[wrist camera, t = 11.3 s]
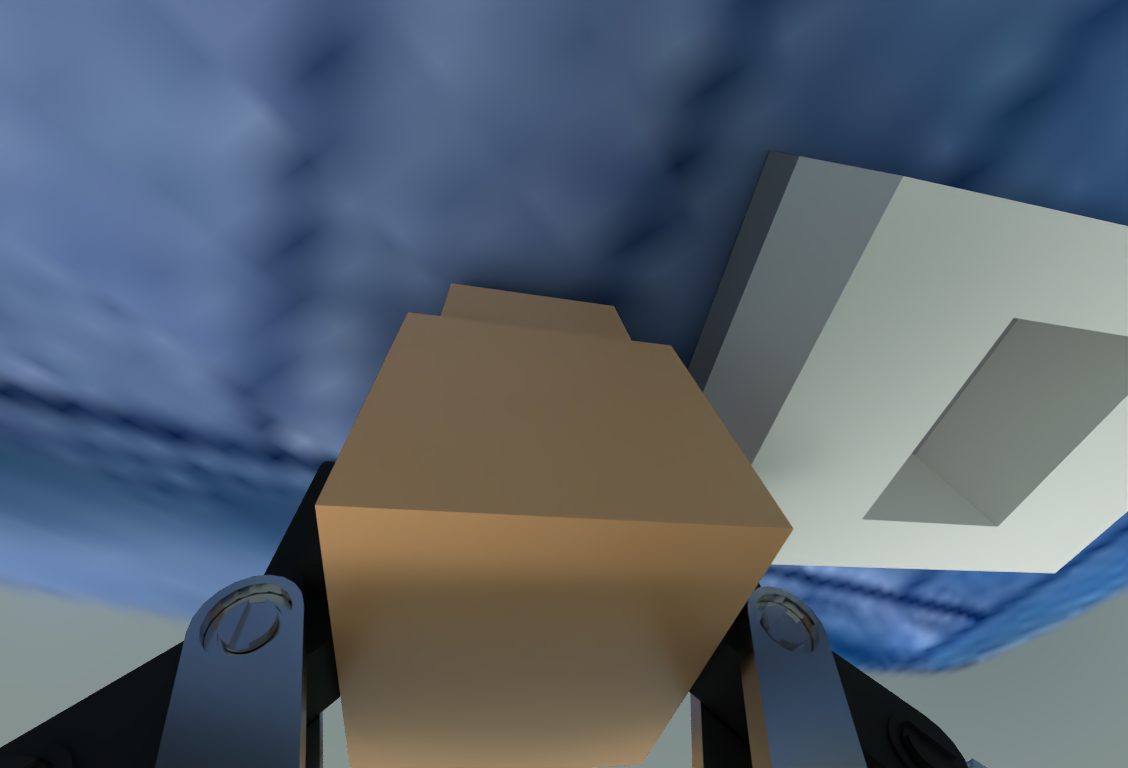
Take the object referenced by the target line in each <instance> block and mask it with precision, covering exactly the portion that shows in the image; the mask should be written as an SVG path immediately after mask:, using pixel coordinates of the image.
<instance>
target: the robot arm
mask: <svg viewBox="0 0 1128 768" xmlns="http://www.w3.org/2000/svg"><path fill="white" fill-rule="evenodd" d="M334 464H335V462H329V461H325V462H324V463H322V465H321V466H320V468H319V469H318V471H317V473H316V475H315V477H314V479H313V481H312V483H311V485H310V487H309V489H308V491H307V492H306V494H305V496H304V498H303V500H302V502H301V504H300V506H299V508H298V510H297V512H296V514H295V516H294V518H293V520H292V522H291V524H290V525H289V527H288V529H287V531H286V533H285V535H284V537H283V539H282V541H281V543H280V545H279V547H278V549H277V551H276V553H275V555H274V557H273V558H272V560H271V562H270V564H269V566H268V568H267V570H266V572H265V574H264V575H262V576H253V577H250V578H246V579H243V580H240V581H237V582H235V583H233V584H231V585H229V586H227V587H225V588H224V589H222V590H220V591H218V592H217V593H216V594H215V595H213V596H212V597H211V598H210V599H209V600H207V601H206V602H205V603H204V604H203V605H202V606H201V608H200V609H199V610H198V611H197V613H196V614H195V615H194V616H193V618H192V620H191V622H190V625H189V627H188V629H187V632H186V635H185V640H184V641H183V642H181V643H179V644H178V645H176V646H174V647H172V648H171V649H169V650H167V651H166V652H164V653H162V654H160V655H159V656H157V657H155V658H154V659H152V660H150V661H148V662H147V663H145V664H143V665H142V666H140V667H138V668H136V669H135V670H133V671H131V672H129V673H128V674H126V675H124V676H123V677H121V678H119V679H117V680H116V681H114V682H112V683H111V684H109V685H107V686H105V687H104V688H102V689H100V690H99V691H97V692H95V693H93V694H92V695H90V696H88V697H87V698H85V699H83V700H81V701H80V702H78V703H76V704H75V705H73V706H71V707H70V708H68V709H66V710H64V711H63V712H61V713H59V714H57V715H56V716H54V717H52V718H51V719H49V720H47V721H46V722H44V723H42V724H40V725H39V726H37V727H35V728H33V729H32V730H30V731H28V732H26V733H25V734H23V735H21V736H20V737H18V738H16V739H15V740H13V741H11V742H9V743H8V744H6V745H4V746H2V747H1V748H0V768H323V710H324V709H326V708H327V707H328V706H329V705H330V704H332V703H333V702H334V701H335V700H337V699H338V698H339V697H340V688H339V681H338V673H337V666H336V658H335V651H334V644H333V636H332V629H331V621H330V614H329V606H328V599H327V591H326V584H325V577H324V569H323V562H322V554H321V547H320V539H319V532H318V524H317V517H316V510H315V504H316V502H317V500H318V498H319V496H320V493H321V491H322V489H323V487H324V485H325V483H326V481H327V479H328V477H329V475H330V473H331V471H332V469H333V467H334ZM689 692H690V693H691V696H690V697H691V730H692V731H691V733H692V767H693V768H986V767H985V766H983V765H982V764H980V763H979V762H977V761H976V760H974V759H971V760H970V761H968V762H966V761H965V759H964V758H963V756H962V754H961V753H960V752H959V750H958V749H957V747H956V746H955V744H954V743H953V742H952V741H951V739H950V738H949V737H948V736H947V735H946V734H945V733H944V732H943V731H942V730H941V729H940V728H939V727H938V726H937V725H936V724H935V723H933V722H932V721H931V720H930V719H929V718H927V717H926V716H925V715H923V714H922V713H920V712H919V711H918V710H916V709H915V708H913V707H912V706H910V705H909V704H908V703H906V702H905V701H903V700H902V699H900V698H899V697H898V696H896V695H895V694H893V693H892V692H890V691H889V690H888V689H886V688H884V687H883V686H882V685H880V684H879V683H877V682H876V681H875V680H873V679H872V678H870V677H869V676H867V675H866V674H865V673H863V672H862V671H860V670H859V669H857V668H856V667H855V666H853V665H852V664H850V663H849V662H847V661H846V660H844V659H843V658H842V657H840V656H839V655H837V654H836V653H834V652H833V651H832V650H831V647H830V644H829V640H828V637H827V634H826V632H825V630H824V627H823V625H822V623H821V621H820V620H819V619H818V617H817V616H816V614H815V613H814V612H813V611H812V610H811V609H810V608H809V607H808V606H807V605H806V604H805V603H804V602H803V601H802V600H800V599H799V598H797V597H796V596H794V595H793V594H791V593H789V592H787V591H785V590H782V589H780V588H776V587H770V586H766V587H761V586H760V584H759V583H758V585H757V586H756V588H755V590H754V591H753V593H752V594H751V596H750V597H749V599H748V600H747V602H746V603H745V605H744V607H743V608H742V610H741V611H740V613H739V614H738V616H737V617H736V619H735V620H734V622H733V624H732V625H731V627H730V628H729V630H728V631H727V633H726V634H725V636H724V637H723V639H722V641H721V642H720V644H719V645H718V647H717V648H716V650H715V651H714V653H713V655H712V656H711V658H710V659H709V661H708V662H707V664H706V665H705V667H704V668H703V670H702V672H701V673H700V675H699V676H698V678H697V679H696V681H695V682H694V684H693V685H692V687H691V689H690V690H689Z"/></svg>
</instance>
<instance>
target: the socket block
mask: <svg viewBox="0 0 1128 768" xmlns="http://www.w3.org/2000/svg"><path fill="white" fill-rule="evenodd" d="M688 371H689V373H690V374H691V376H692V377H693V379H694V380H695V382H696V383H697V385H698V386H699V388H700V389H701V391H702V392H703V394H704V395H705V397H706V398H707V400H708V401H709V403H710V404H711V406H712V407H713V409H714V410H715V412H716V413H717V415H718V416H719V418H720V419H721V421H722V422H723V424H724V425H725V427H726V428H727V430H728V431H729V433H730V434H731V436H732V437H733V439H734V440H735V442H736V443H737V445H738V446H739V448H740V449H741V451H742V452H743V454H744V455H745V457H746V458H747V460H748V461H749V463H750V464H751V466H752V467H753V469H754V470H755V472H756V473H757V475H758V476H759V478H760V479H761V481H762V482H763V484H764V485H765V487H766V488H767V490H768V491H769V493H770V494H771V496H772V497H773V499H774V500H775V502H776V503H777V505H778V506H779V508H780V509H781V511H782V512H783V514H784V515H785V517H786V518H787V520H788V521H789V523H790V524H791V526H792V527H793V531H792V532H791V534H790V535H789V537H788V538H787V540H786V542H785V543H784V545H783V546H782V548H781V549H780V551H779V552H778V554H777V555H776V557H775V559H774V560H773V562H772V563H771V564H778V565H809V566H841V567H873V568H905V569H937V570H969V571H1000V572H1032V573H1056V572H1057V571H1058V570H1059V569H1061V568H1062V567H1063V566H1064V565H1065V564H1066V563H1068V562H1069V561H1070V560H1071V559H1072V558H1073V557H1075V556H1076V555H1077V554H1078V553H1079V552H1080V551H1082V550H1083V549H1084V548H1085V547H1086V546H1087V545H1089V544H1090V543H1091V542H1092V541H1093V540H1095V539H1096V538H1097V537H1098V536H1099V535H1100V534H1102V533H1103V532H1104V531H1105V530H1106V529H1107V528H1109V527H1110V526H1111V525H1112V524H1113V523H1114V522H1116V521H1117V520H1118V519H1119V518H1120V517H1121V516H1123V515H1124V514H1125V513H1126V512H1127V511H1128V226H1125V225H1121V224H1116V223H1112V222H1107V221H1103V220H1098V219H1094V218H1089V217H1085V216H1080V215H1076V214H1071V213H1067V212H1062V211H1058V210H1053V209H1049V208H1044V207H1040V206H1035V205H1031V204H1026V203H1022V202H1017V201H1013V200H1009V199H1004V198H1000V197H995V196H991V195H986V194H982V193H977V192H973V191H968V190H964V189H959V188H955V187H950V186H946V185H941V184H937V183H932V182H928V181H923V180H919V179H914V178H910V177H905V176H900V175H895V174H890V173H885V172H880V171H874V170H869V169H864V168H859V167H854V166H849V165H843V164H838V163H833V162H828V161H823V160H817V159H812V158H807V157H802V156H797V155H791V154H786V153H781V152H776V151H771V150H770V151H769V154H768V157H767V159H766V162H765V165H764V167H763V170H762V173H761V175H760V178H759V181H758V183H757V186H756V189H755V191H754V194H753V197H752V199H751V202H750V205H749V207H748V210H747V213H746V215H745V218H744V221H743V223H742V226H741V229H740V231H739V234H738V237H737V239H736V242H735V245H734V247H733V250H732V253H731V255H730V258H729V261H728V263H727V266H726V268H725V271H724V274H723V276H722V279H721V282H720V284H719V287H718V290H717V292H716V295H715V298H714V300H713V303H712V306H711V308H710V311H709V314H708V316H707V319H706V322H705V324H704V327H703V330H702V332H701V335H700V338H699V340H698V343H697V346H696V348H695V351H694V354H693V356H692V359H691V362H690V364H689V367H688Z"/></svg>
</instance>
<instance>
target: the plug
mask: <svg viewBox="0 0 1128 768" xmlns="http://www.w3.org/2000/svg"><path fill="white" fill-rule="evenodd" d="M315 510H316V517H317V524H318V532H319V539H320V547H321V554H322V562H323V569H324V577H325V584H326V591H327V599H328V606H329V614H330V621H331V629H332V636H333V644H334V651H335V658H336V666H337V673H338V681H339V688H340V696H341V703H342V710H343V718H344V725H345V733H346V740H347V748H348V755H349V763H350V768H592V767H611V766H629V765H641V764H642V763H643V761H644V760H645V758H646V756H647V755H648V754H649V752H650V750H651V749H652V747H653V746H654V744H655V743H656V741H657V740H658V738H659V737H660V735H661V733H662V732H663V730H664V729H665V727H666V726H667V724H668V723H669V721H670V720H671V718H672V716H673V715H674V713H675V712H676V710H677V709H678V707H679V706H680V704H681V703H682V701H683V699H684V698H685V696H686V695H687V693H688V692H689V690H690V689H691V687H692V685H693V684H694V682H695V681H696V679H697V678H698V676H699V675H700V673H701V672H702V670H703V668H704V667H705V665H706V664H707V662H708V661H709V659H710V658H711V656H712V655H713V653H714V651H715V650H716V648H717V647H718V645H719V644H720V642H721V641H722V639H723V637H724V636H725V634H726V633H727V631H728V630H729V628H730V627H731V625H732V624H733V622H734V620H735V619H736V617H737V616H738V614H739V613H740V611H741V610H742V608H743V607H744V605H745V603H746V602H747V600H748V599H749V597H750V596H751V594H752V593H753V591H754V590H755V588H756V586H757V585H758V583H759V582H760V580H761V579H762V577H763V576H764V574H765V572H766V571H767V569H768V568H769V566H770V565H771V563H772V562H773V560H774V559H775V557H776V555H777V554H778V552H779V551H780V549H781V548H782V546H783V545H784V543H785V542H786V540H787V538H788V537H789V535H790V534H791V532H792V531H793V527H792V526H791V524H790V523H789V521H788V520H787V518H786V517H785V515H784V514H783V512H782V511H781V509H780V508H779V506H778V505H777V503H776V502H775V500H774V499H773V497H772V496H771V494H770V493H769V491H768V490H767V488H766V487H765V485H764V484H763V482H762V481H761V479H760V478H759V476H758V475H757V473H756V472H755V470H754V469H753V467H752V466H751V464H750V463H749V461H748V460H747V458H746V457H745V455H744V454H743V452H742V451H741V449H740V448H739V446H738V445H737V443H736V442H735V440H734V439H733V437H732V436H731V434H730V433H729V431H728V430H727V428H726V427H725V425H724V424H723V422H722V421H721V419H720V418H719V416H718V415H717V413H716V412H715V410H714V409H713V407H712V406H711V404H710V403H709V401H708V400H707V398H706V397H705V395H704V394H703V392H702V391H701V389H700V388H699V386H698V385H697V383H696V382H695V380H694V379H693V377H692V376H691V374H690V373H689V371H688V370H687V368H686V367H685V365H684V364H683V362H682V361H681V359H680V358H679V356H678V355H677V353H676V352H675V350H674V349H673V347H672V346H671V345H663V344H655V343H648V342H640V341H632V340H631V338H630V336H629V334H628V332H627V331H626V329H625V327H624V325H623V323H622V321H621V319H620V317H619V315H618V313H617V311H616V309H615V307H614V306H610V305H603V304H596V303H589V302H581V301H574V300H567V299H560V298H553V297H546V296H539V295H532V294H525V293H517V292H510V291H503V290H496V289H489V288H482V287H475V286H468V285H461V284H453V283H451V285H450V288H449V291H448V294H447V297H446V300H445V304H444V307H443V310H442V313H441V316H435V315H427V314H419V313H411V312H408V313H407V315H406V317H405V319H404V321H403V323H402V325H401V328H400V330H399V332H398V334H397V336H396V338H395V340H394V342H393V344H392V346H391V348H390V350H389V352H388V355H387V357H386V359H385V361H384V363H383V365H382V367H381V369H380V371H379V373H378V375H377V377H376V379H375V381H374V384H373V386H372V388H371V390H370V392H369V394H368V396H367V398H366V400H365V402H364V404H363V406H362V408H361V411H360V413H359V415H358V417H357V419H356V421H355V423H354V425H353V427H352V429H351V431H350V433H349V435H348V437H347V440H346V442H345V444H344V446H343V448H342V450H341V452H340V454H339V456H338V458H337V460H336V462H335V464H334V467H333V469H332V471H331V473H330V475H329V477H328V479H327V481H326V483H325V485H324V487H323V489H322V491H321V493H320V496H319V498H318V500H317V502H316V504H315Z"/></svg>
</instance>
